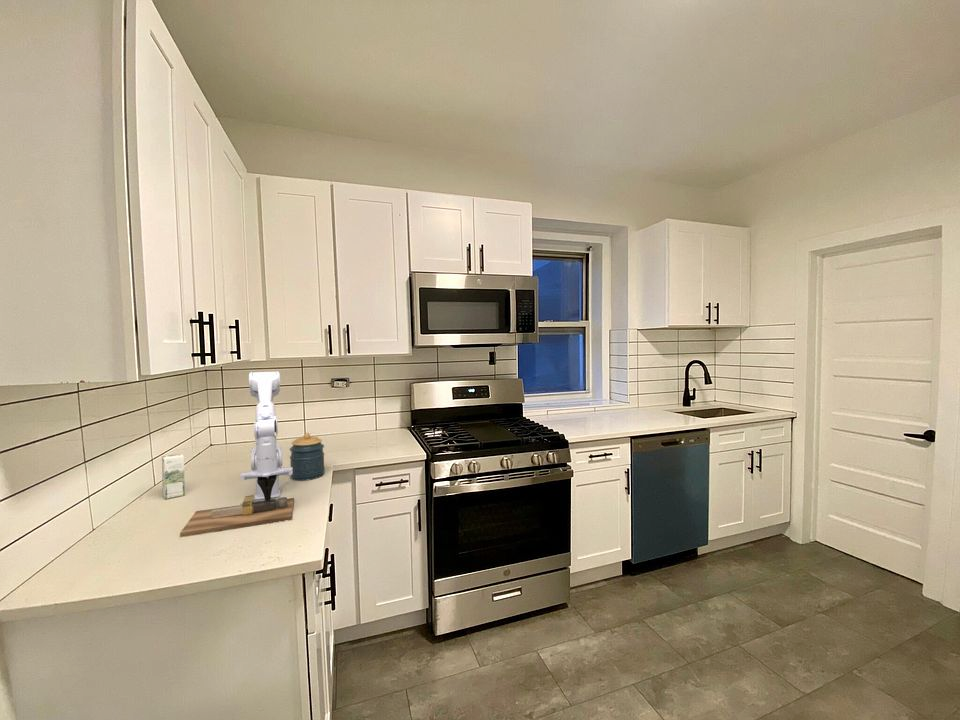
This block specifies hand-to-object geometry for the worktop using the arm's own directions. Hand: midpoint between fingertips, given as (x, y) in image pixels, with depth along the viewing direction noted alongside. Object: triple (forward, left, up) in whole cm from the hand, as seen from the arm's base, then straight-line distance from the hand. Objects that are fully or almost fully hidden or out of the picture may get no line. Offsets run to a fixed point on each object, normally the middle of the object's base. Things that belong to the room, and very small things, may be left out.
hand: (267, 499), depth 127 cm
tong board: (+1, -7, -4) cm, 8 cm away
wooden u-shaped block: (0, -5, -3) cm, 6 cm away
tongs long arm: (+1, -6, -3) cm, 7 cm away
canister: (-35, +11, -4) cm, 37 cm away
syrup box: (-30, -33, -4) cm, 45 cm away
